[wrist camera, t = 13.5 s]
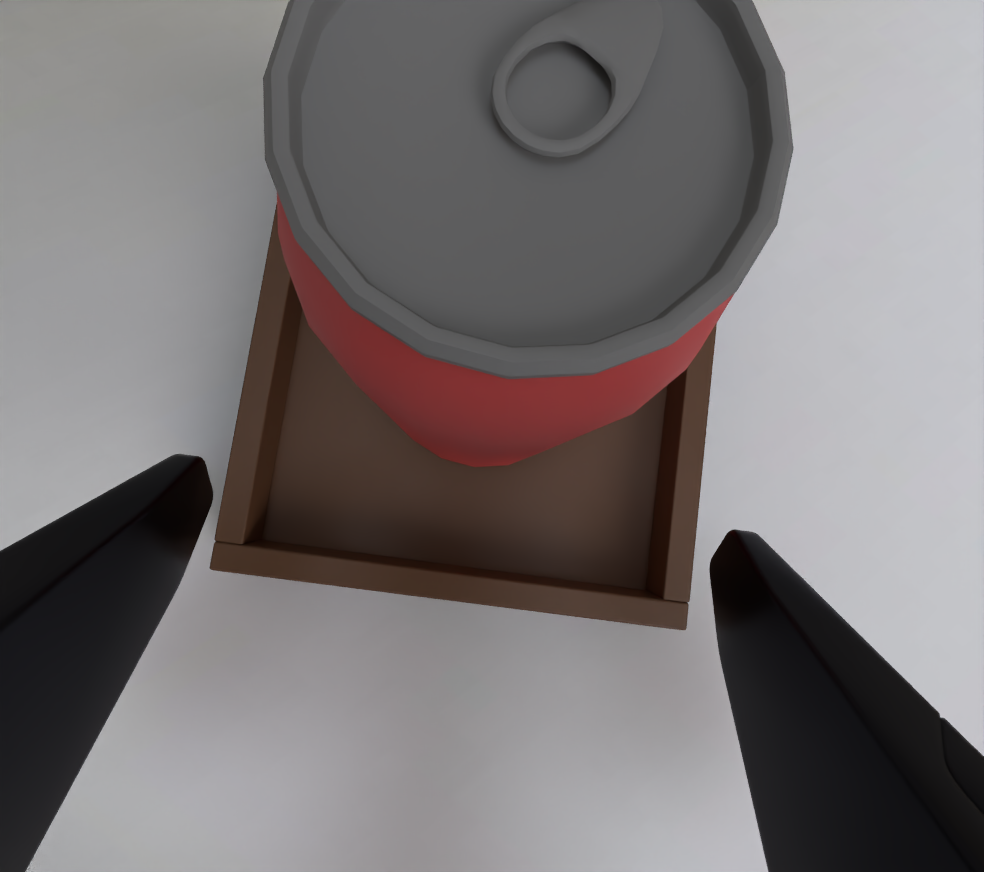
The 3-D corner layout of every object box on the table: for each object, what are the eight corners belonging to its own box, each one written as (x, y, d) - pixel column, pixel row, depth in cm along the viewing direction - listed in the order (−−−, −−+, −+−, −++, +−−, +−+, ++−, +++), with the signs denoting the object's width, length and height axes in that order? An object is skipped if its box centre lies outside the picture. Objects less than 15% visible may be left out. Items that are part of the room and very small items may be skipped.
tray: (660, 614, 18) (687, 631, 16) (238, 559, 17) (207, 570, 15) (703, 192, 19) (733, 156, 17) (316, 128, 18) (298, 82, 16)
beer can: (626, 359, 18) (965, 101, 6) (492, 511, 17) (568, 570, 5) (476, 226, 18) (508, -293, 6) (337, 372, 17) (57, 112, 5)
